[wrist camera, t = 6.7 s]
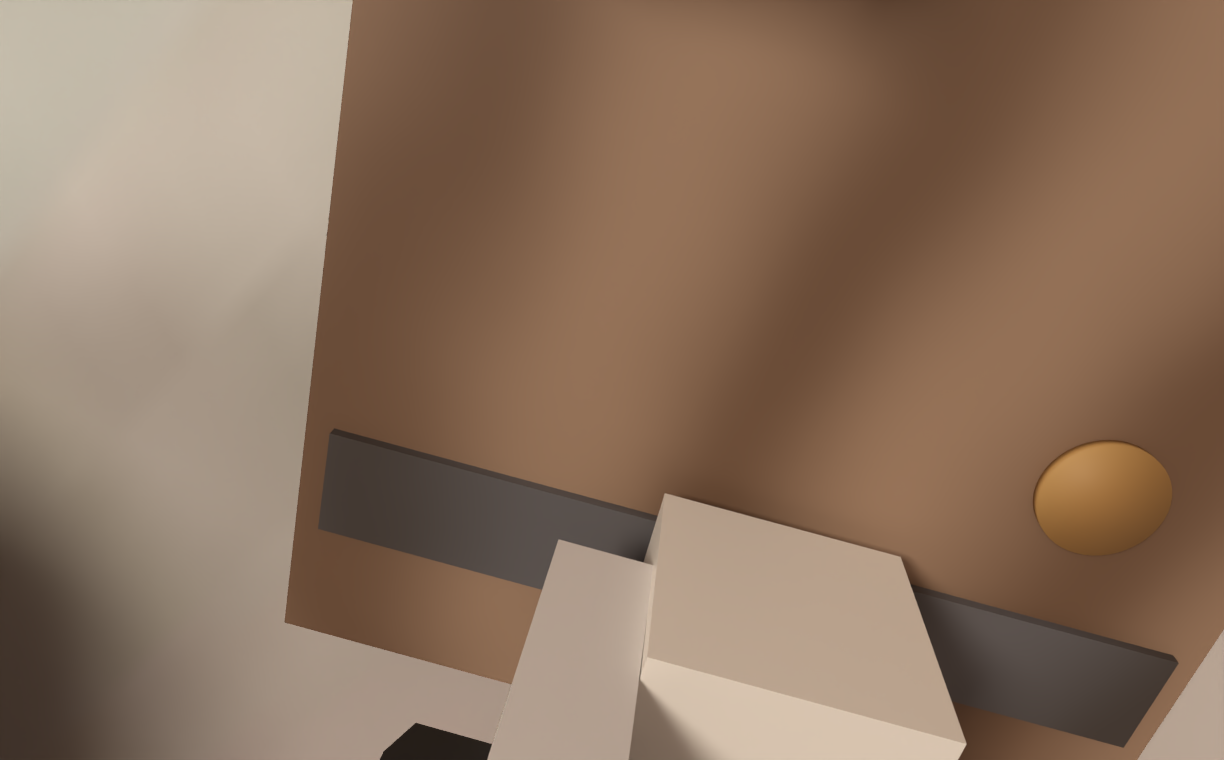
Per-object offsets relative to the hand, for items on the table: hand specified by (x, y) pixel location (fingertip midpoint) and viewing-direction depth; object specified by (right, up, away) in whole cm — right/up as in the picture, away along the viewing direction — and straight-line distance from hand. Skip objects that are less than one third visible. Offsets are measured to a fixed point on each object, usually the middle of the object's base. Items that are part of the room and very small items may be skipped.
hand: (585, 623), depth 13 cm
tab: (+3, 0, +2) cm, 3 cm away
